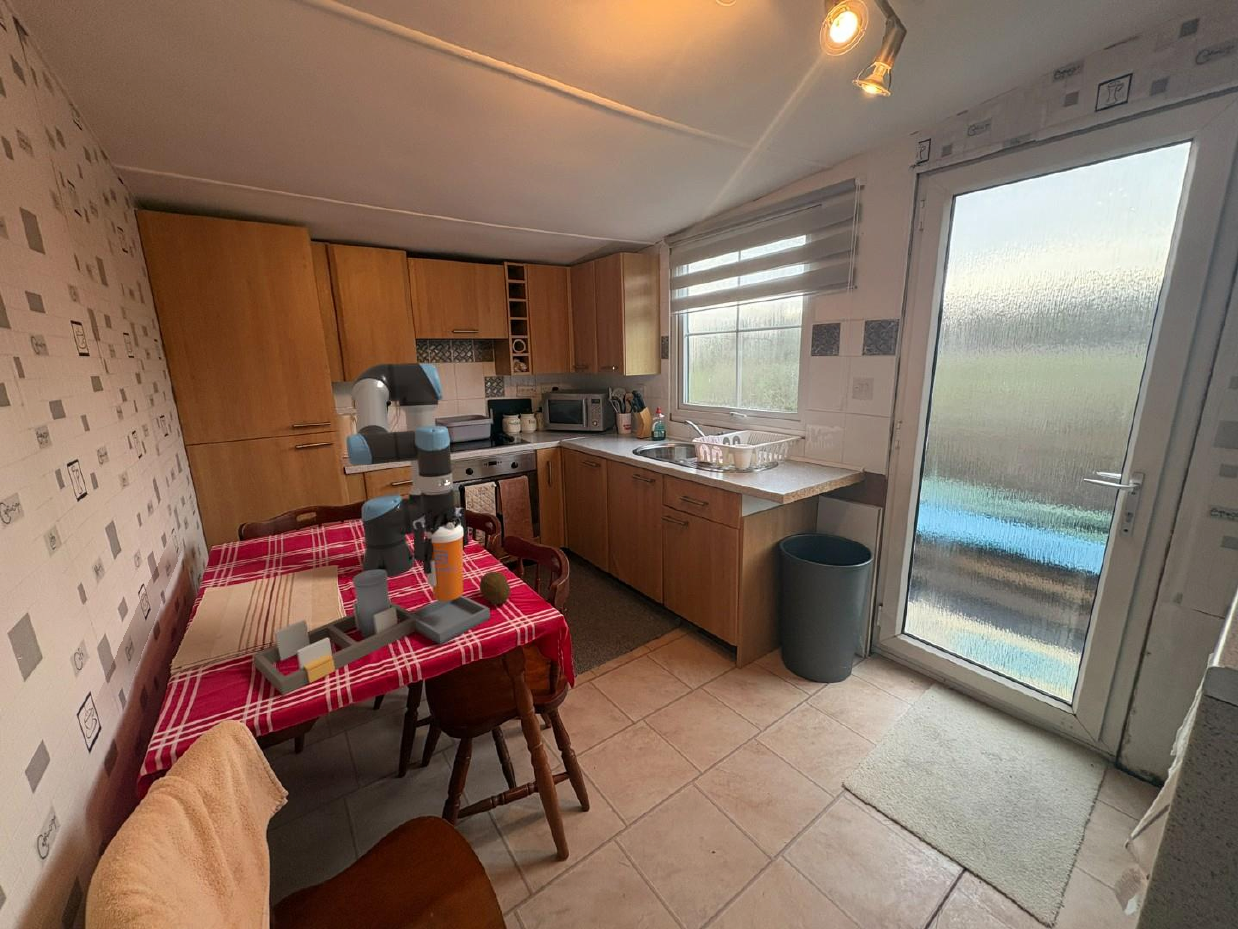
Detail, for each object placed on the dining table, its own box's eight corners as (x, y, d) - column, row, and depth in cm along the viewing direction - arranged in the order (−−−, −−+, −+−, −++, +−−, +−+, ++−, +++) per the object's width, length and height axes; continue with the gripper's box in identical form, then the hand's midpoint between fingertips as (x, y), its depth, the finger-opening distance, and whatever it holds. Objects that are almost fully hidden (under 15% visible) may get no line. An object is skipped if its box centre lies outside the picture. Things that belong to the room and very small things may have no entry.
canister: (354, 632, 119) (347, 577, 115) (383, 619, 125) (377, 567, 121) (369, 643, 114) (362, 586, 111) (399, 629, 120) (392, 574, 117)
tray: (406, 625, 122) (405, 614, 121) (456, 602, 133) (455, 592, 133) (440, 645, 113) (439, 634, 113) (490, 618, 125) (489, 608, 124)
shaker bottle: (435, 587, 126) (430, 514, 122) (470, 586, 127) (466, 513, 123) (425, 603, 117) (419, 526, 113) (462, 602, 118) (457, 525, 114)
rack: (255, 666, 106) (249, 638, 104) (388, 609, 130) (385, 585, 128) (284, 696, 96) (278, 666, 95) (422, 628, 120) (419, 603, 119)
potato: (492, 612, 128) (491, 586, 126) (471, 595, 137) (469, 570, 135) (519, 602, 133) (518, 576, 132) (497, 586, 142) (496, 562, 140)
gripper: (407, 503, 106) (417, 598, 111) (480, 484, 121) (486, 569, 126) (389, 497, 110) (400, 589, 115) (461, 480, 125) (468, 562, 130)
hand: (445, 578), depth 120 cm, fingers open, 6 cm apart
